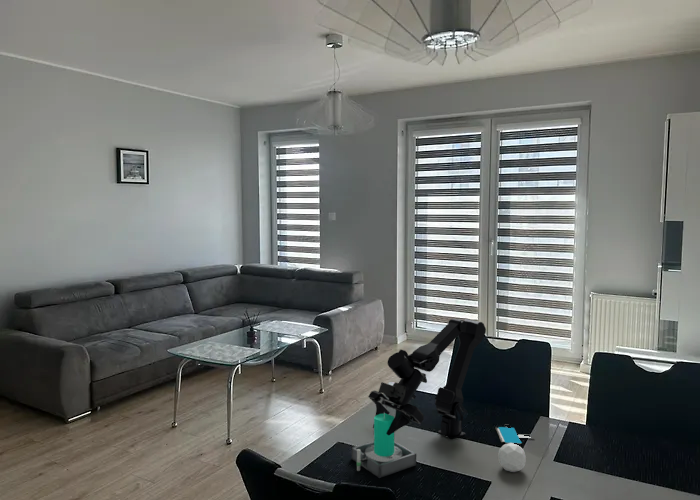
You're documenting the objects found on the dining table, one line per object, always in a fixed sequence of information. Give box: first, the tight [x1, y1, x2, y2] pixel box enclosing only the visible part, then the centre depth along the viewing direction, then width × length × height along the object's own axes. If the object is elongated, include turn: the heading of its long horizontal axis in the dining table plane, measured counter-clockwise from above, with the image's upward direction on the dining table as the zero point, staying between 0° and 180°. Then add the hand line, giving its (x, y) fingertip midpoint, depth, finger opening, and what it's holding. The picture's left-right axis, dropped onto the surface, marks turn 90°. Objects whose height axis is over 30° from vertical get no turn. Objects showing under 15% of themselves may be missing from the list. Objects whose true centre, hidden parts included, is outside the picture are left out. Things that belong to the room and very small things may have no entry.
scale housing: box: [351, 440, 417, 479], centre depth 157 cm, size 16×14×6 cm
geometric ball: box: [497, 443, 527, 473], centre depth 154 cm, size 8×8×8 cm
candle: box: [373, 413, 395, 456], centre depth 158 cm, size 6×6×12 cm
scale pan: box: [361, 445, 402, 464], centre depth 157 cm, size 14×11×1 cm
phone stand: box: [494, 423, 531, 445], centre depth 177 cm, size 20×12×2 cm, turn 175°
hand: (380, 431), depth 157 cm, fingers closed on candle, 5 cm apart
